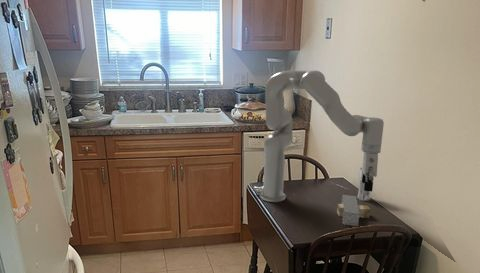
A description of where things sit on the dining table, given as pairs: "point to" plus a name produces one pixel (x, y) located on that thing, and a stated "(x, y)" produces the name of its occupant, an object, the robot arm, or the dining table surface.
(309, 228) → the dining table surface
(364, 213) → the bar
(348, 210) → the housing
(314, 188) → the dining table surface
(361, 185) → the beer glass
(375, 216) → the dining table surface
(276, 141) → the robot arm
